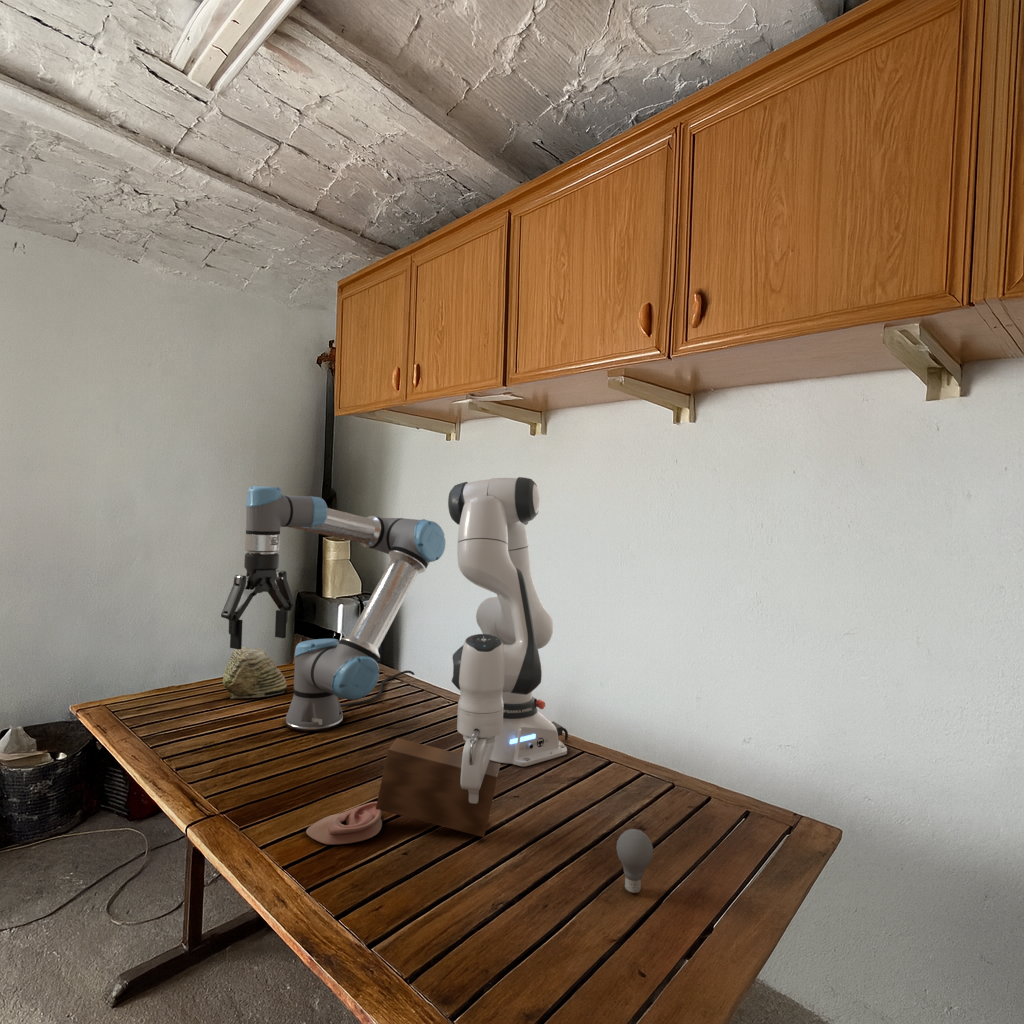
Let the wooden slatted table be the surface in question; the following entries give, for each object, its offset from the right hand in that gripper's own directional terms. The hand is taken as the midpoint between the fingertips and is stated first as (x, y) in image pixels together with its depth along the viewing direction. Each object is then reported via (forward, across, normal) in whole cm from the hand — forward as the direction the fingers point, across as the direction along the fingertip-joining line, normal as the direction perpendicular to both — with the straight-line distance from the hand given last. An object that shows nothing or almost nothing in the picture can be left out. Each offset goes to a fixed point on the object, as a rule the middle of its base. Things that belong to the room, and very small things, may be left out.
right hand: (476, 792), depth 122 cm
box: (+5, 0, +8) cm, 10 cm away
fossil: (+8, +68, +80) cm, 106 cm away
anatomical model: (+8, -4, +24) cm, 26 cm away
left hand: (-21, +21, +56) cm, 63 cm away
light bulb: (+8, -14, -29) cm, 33 cm away
